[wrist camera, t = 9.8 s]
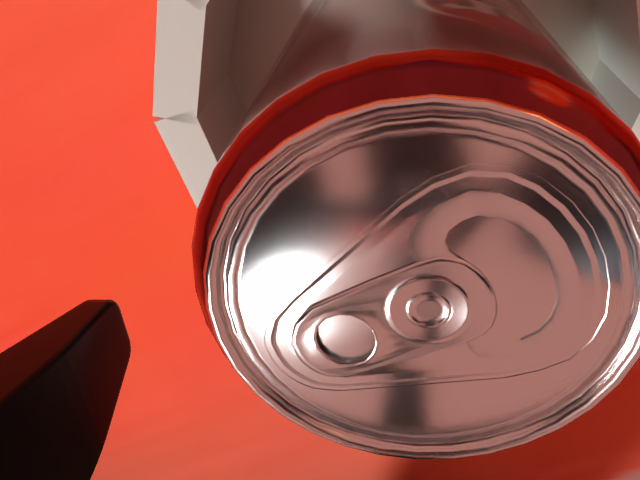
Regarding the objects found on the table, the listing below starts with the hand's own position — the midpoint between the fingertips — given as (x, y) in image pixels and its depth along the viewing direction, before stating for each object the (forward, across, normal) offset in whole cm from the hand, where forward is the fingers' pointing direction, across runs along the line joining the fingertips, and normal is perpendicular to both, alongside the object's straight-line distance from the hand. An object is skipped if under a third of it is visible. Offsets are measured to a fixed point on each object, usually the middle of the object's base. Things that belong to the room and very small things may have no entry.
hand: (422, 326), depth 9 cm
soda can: (+12, 0, 0) cm, 12 cm away
